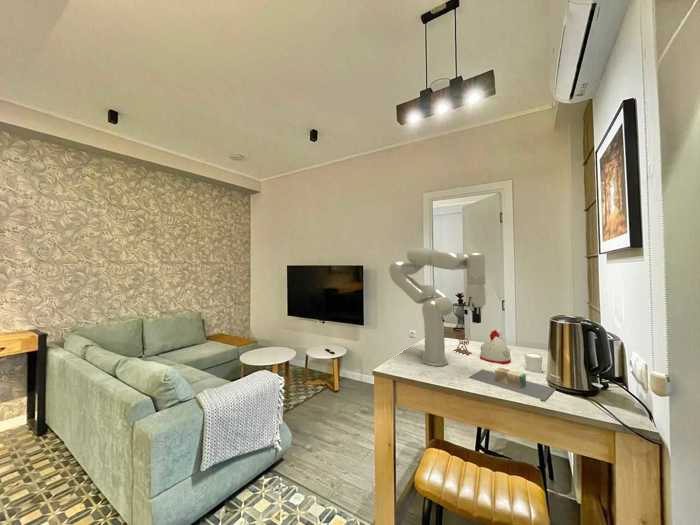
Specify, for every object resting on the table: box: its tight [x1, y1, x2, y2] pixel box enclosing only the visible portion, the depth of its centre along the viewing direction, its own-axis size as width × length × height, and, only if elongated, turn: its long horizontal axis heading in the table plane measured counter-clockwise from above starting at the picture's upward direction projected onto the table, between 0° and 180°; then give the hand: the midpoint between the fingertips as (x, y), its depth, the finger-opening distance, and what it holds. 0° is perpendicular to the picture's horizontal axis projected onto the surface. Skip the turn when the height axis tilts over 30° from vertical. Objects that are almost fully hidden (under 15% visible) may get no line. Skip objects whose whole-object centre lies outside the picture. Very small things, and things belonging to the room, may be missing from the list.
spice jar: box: [494, 366, 527, 388], centre depth 116 cm, size 4×4×10 cm
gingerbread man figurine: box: [453, 330, 473, 356], centre depth 158 cm, size 9×4×12 cm, turn 34°
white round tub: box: [524, 352, 543, 374], centre depth 130 cm, size 7×7×7 cm
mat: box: [467, 369, 556, 402], centre depth 116 cm, size 28×14×1 cm, turn 41°
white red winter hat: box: [479, 329, 512, 366], centre depth 146 cm, size 14×14×15 cm
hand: (476, 322), depth 126 cm, fingers closed
